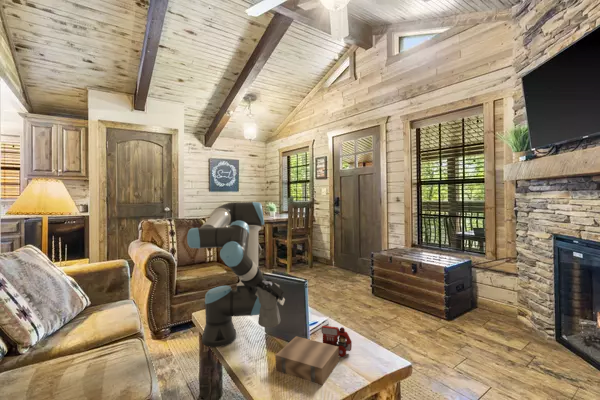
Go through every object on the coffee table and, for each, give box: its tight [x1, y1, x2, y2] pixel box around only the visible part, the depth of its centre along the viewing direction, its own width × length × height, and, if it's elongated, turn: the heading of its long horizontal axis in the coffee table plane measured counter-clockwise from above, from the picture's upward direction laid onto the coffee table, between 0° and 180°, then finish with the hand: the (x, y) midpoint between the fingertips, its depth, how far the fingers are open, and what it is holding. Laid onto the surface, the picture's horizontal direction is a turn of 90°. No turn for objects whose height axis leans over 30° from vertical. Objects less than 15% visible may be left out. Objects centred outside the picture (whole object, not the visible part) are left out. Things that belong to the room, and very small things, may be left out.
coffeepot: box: [257, 278, 282, 328], centre depth 122 cm, size 15×9×18 cm, turn 12°
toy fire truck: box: [321, 325, 352, 358], centre depth 123 cm, size 7×12×10 cm, turn 74°
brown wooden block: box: [274, 335, 340, 386], centre depth 113 cm, size 19×16×6 cm
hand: (273, 300), depth 124 cm, fingers closed on coffeepot, 9 cm apart
